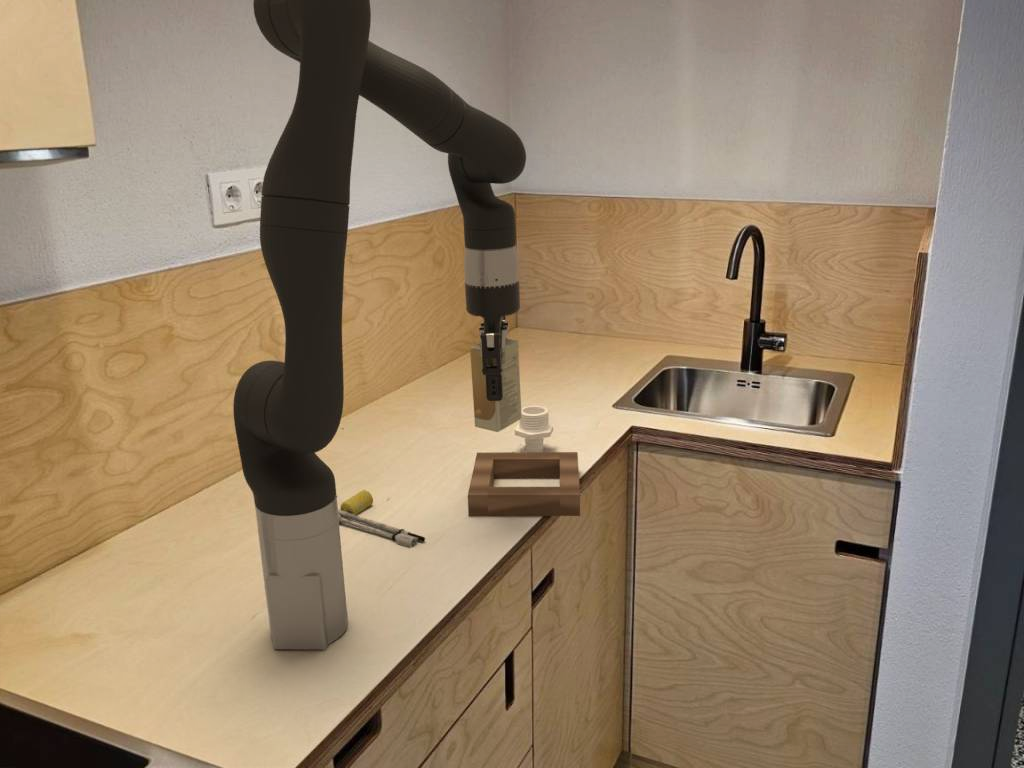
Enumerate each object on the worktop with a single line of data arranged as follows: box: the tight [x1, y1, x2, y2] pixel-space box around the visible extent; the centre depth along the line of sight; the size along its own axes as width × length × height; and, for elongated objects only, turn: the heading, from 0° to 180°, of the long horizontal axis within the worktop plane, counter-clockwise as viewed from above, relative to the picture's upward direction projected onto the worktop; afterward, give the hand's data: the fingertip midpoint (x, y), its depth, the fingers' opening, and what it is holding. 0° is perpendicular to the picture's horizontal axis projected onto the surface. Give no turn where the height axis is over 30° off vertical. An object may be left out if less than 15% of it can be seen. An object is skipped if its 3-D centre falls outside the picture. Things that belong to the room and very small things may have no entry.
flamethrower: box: [338, 489, 426, 549], centre depth 137 cm, size 29×3×10 cm
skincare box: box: [469, 338, 522, 433], centre depth 128 cm, size 6×4×12 cm
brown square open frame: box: [467, 451, 581, 517], centre depth 144 cm, size 17×17×4 cm
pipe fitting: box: [514, 405, 554, 452], centre depth 159 cm, size 6×7×8 cm
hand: (496, 390), depth 129 cm, fingers closed on skincare box, 7 cm apart
